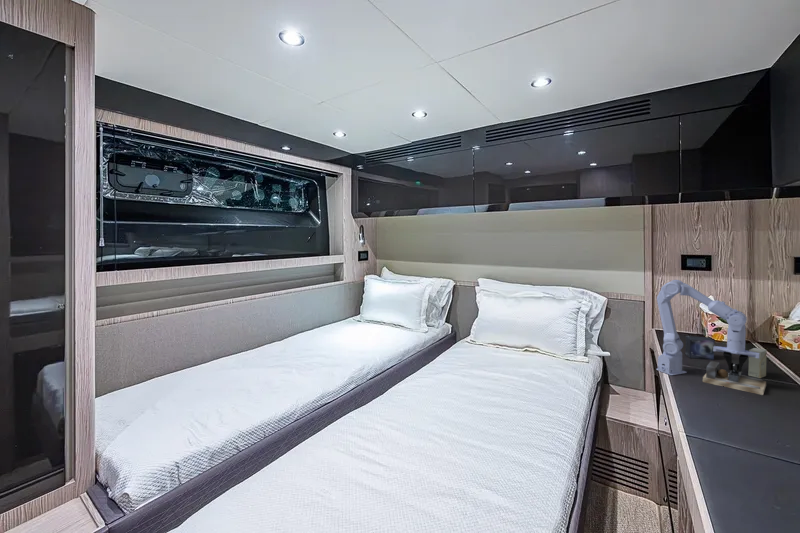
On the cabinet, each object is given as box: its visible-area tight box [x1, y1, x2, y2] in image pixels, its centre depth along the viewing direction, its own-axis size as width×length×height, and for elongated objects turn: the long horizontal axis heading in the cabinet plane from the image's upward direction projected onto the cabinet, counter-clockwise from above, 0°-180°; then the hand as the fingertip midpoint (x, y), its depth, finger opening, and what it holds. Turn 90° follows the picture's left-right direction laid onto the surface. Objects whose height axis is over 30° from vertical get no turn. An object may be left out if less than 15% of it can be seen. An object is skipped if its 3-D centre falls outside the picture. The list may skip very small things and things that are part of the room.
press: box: [702, 360, 767, 396], centre depth 156 cm, size 19×12×7 cm, turn 40°
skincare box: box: [747, 347, 768, 379], centre depth 163 cm, size 6×4×12 cm
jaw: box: [728, 362, 742, 382], centre depth 155 cm, size 3×9×7 cm, turn 131°
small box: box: [684, 335, 716, 361], centre depth 189 cm, size 11×6×10 cm, turn 69°
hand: (735, 370), depth 155 cm, fingers closed on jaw, 2 cm apart
